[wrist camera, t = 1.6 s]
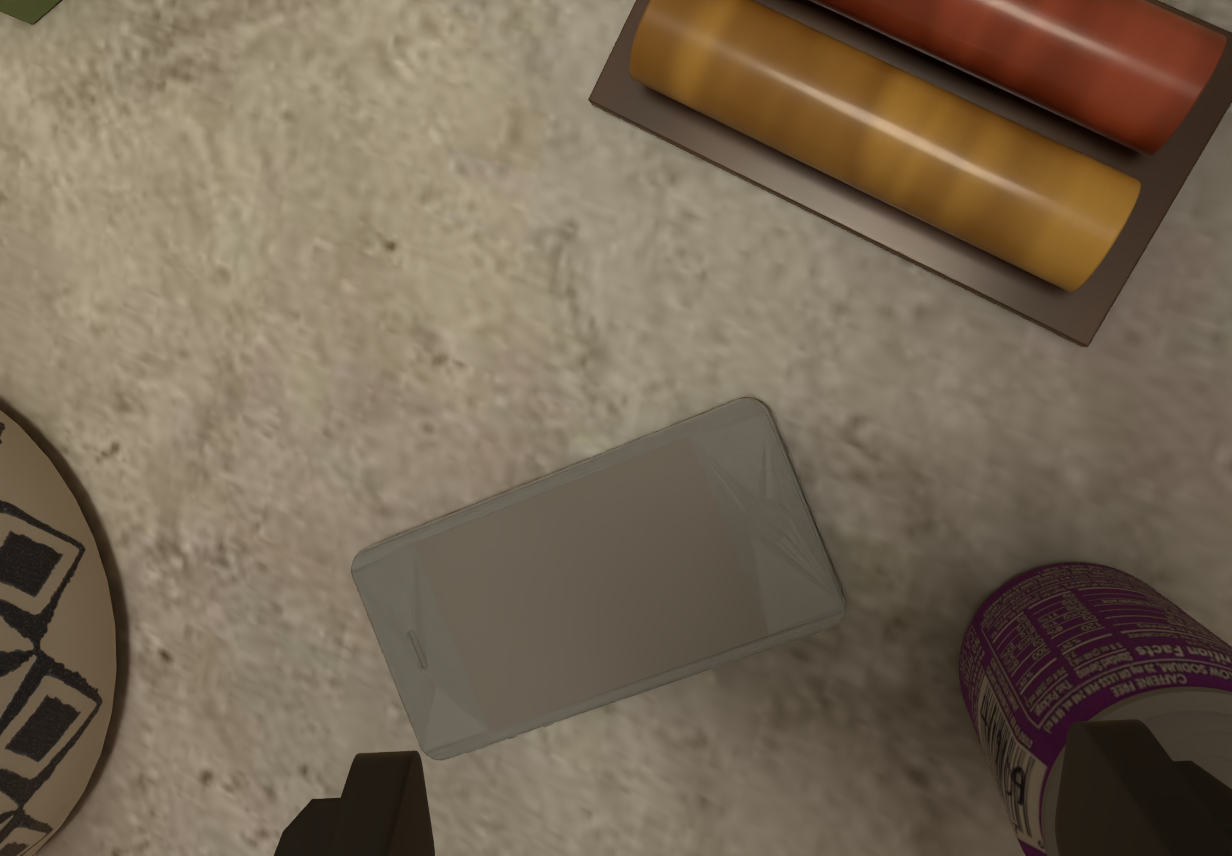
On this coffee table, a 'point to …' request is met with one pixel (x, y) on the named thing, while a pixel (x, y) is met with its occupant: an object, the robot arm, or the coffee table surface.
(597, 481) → the phone
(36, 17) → the green bar
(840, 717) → the coffee table surface
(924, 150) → the rod rack
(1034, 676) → the beverage can
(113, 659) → the planter
